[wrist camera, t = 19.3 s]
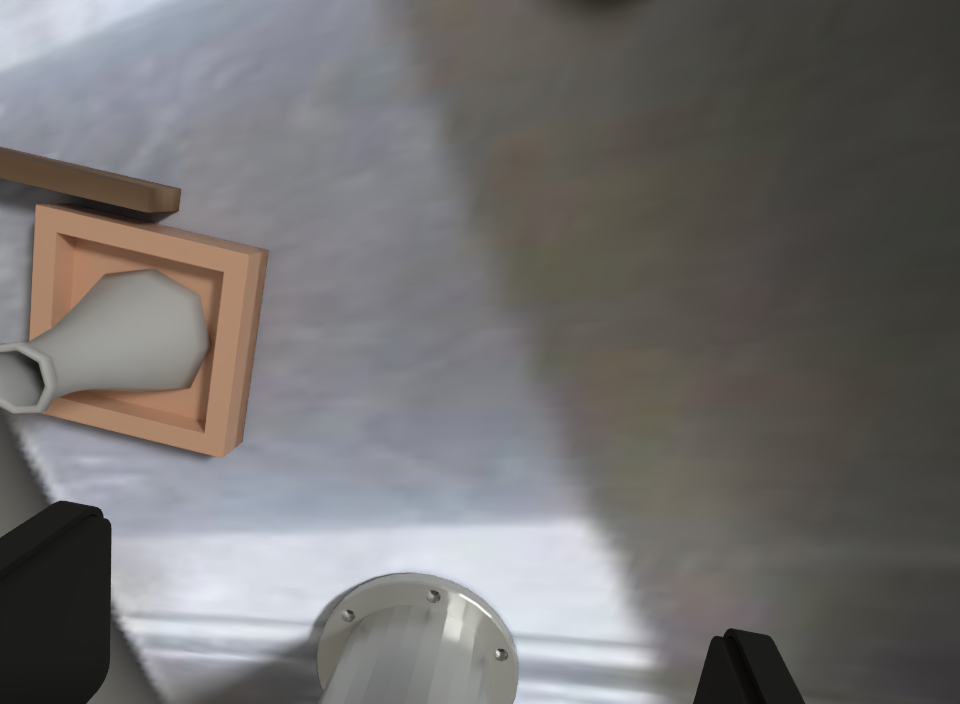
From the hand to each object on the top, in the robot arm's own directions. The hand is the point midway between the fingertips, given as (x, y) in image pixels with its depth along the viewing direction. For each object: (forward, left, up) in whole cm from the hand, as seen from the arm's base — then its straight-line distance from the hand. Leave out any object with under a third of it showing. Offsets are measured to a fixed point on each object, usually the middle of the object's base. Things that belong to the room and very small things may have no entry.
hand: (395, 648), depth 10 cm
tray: (-5, +19, -27) cm, 34 cm away
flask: (-5, +19, -26) cm, 33 cm away
